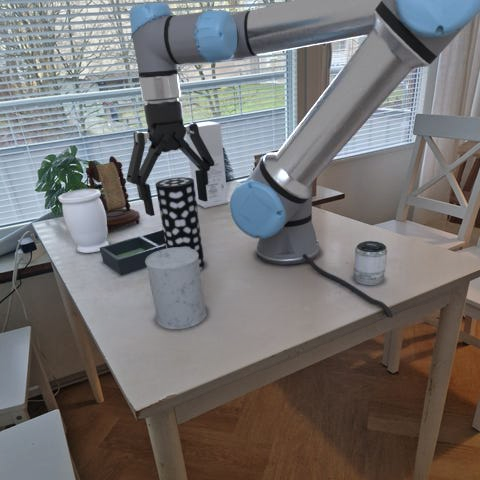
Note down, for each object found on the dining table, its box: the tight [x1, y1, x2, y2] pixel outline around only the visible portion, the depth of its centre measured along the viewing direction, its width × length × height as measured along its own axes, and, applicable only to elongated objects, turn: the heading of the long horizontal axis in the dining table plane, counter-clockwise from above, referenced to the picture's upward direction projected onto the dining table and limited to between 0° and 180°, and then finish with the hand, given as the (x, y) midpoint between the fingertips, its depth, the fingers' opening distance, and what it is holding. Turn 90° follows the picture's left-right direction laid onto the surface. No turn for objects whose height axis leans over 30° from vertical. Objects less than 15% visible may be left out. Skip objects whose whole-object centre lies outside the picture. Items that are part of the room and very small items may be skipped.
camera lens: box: [353, 240, 388, 286], centre depth 89 cm, size 6×6×8 cm
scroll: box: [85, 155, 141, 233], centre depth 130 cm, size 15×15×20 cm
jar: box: [57, 188, 110, 254], centre depth 115 cm, size 11×10×15 cm
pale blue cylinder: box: [145, 247, 207, 330], centre depth 80 cm, size 10×10×12 cm
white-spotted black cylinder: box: [155, 176, 205, 271], centre depth 98 cm, size 8×8×20 cm
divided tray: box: [99, 228, 167, 277], centre depth 110 cm, size 11×22×4 cm, turn 127°
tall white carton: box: [184, 121, 229, 209], centre depth 142 cm, size 9×9×25 cm
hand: (177, 207), depth 96 cm, fingers open, 13 cm apart
